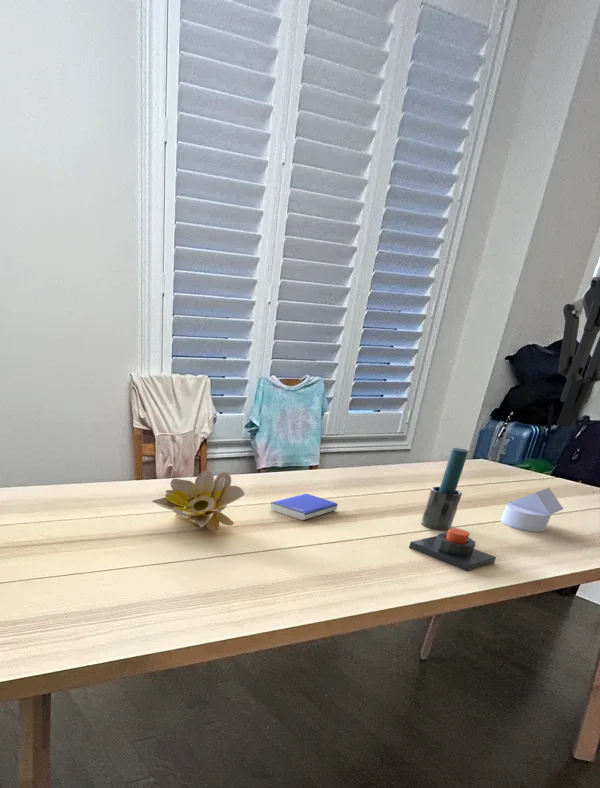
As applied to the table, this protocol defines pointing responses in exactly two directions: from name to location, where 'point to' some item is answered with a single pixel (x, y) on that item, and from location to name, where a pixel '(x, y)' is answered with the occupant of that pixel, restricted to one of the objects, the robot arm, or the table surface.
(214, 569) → the table surface
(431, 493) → the pen holder
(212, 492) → the decorative flower
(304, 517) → the hard drive
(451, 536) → the power button
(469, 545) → the station
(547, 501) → the wedge on round base
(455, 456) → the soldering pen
